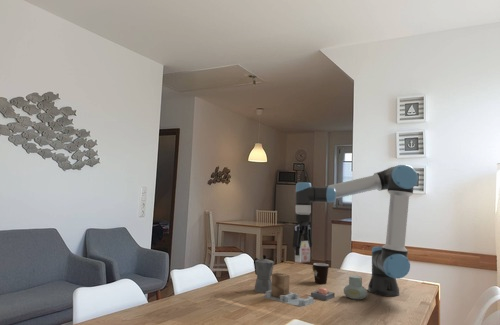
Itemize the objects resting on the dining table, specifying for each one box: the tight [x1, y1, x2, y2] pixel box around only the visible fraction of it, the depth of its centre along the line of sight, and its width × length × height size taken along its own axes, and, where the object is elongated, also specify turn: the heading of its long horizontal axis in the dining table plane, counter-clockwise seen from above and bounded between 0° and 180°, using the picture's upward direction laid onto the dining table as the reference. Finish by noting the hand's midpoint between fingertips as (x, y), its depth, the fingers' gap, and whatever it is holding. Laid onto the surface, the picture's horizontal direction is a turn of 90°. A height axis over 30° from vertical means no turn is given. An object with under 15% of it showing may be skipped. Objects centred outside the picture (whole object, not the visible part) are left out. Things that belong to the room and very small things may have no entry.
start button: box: [318, 287, 328, 294], centre depth 170 cm, size 4×4×4 cm
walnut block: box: [271, 272, 290, 298], centre depth 167 cm, size 7×4×10 cm, turn 52°
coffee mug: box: [312, 262, 330, 285], centre depth 206 cm, size 12×9×10 cm
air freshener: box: [343, 275, 368, 301], centre depth 175 cm, size 11×8×10 cm
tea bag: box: [297, 240, 311, 264], centre depth 178 cm, size 4×7×10 cm, turn 125°
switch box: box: [310, 289, 336, 301], centre depth 170 cm, size 8×8×3 cm
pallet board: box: [263, 290, 317, 308], centre depth 164 cm, size 21×12×3 cm, turn 52°
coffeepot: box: [253, 254, 275, 294], centre depth 179 cm, size 15×9×18 cm, turn 33°
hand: (302, 261), depth 177 cm, fingers closed on tea bag, 7 cm apart
